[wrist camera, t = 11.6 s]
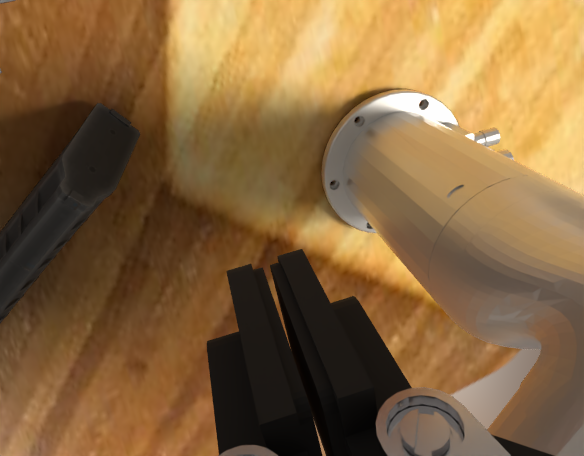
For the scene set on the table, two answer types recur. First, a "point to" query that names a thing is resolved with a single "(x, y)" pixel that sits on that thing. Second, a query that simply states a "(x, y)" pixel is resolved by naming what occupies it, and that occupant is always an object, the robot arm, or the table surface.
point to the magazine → (63, 200)
